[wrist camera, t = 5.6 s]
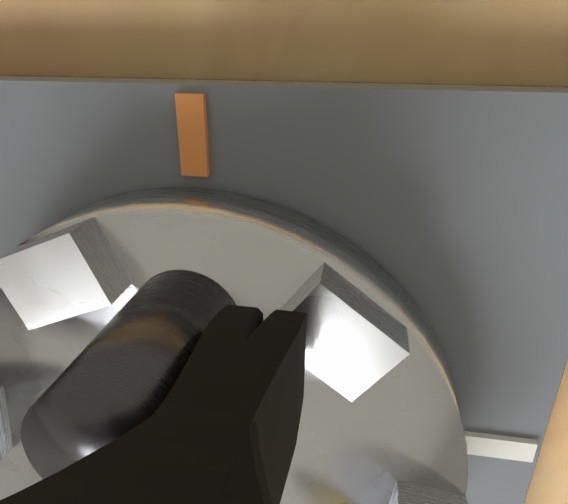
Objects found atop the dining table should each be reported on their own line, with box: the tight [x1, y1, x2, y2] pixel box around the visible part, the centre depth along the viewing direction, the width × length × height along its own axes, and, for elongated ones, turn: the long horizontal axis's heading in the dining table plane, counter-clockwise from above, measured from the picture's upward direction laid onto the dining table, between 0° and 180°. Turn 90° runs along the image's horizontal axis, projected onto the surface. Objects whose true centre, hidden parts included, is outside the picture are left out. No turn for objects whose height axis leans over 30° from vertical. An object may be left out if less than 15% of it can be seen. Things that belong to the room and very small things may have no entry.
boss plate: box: [0, 75, 568, 504], centre depth 16 cm, size 20×20×2 cm
